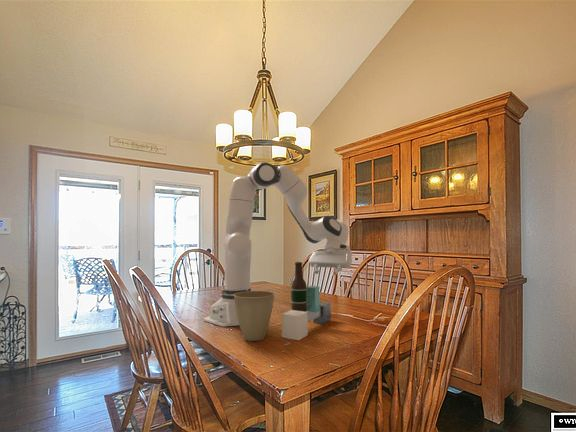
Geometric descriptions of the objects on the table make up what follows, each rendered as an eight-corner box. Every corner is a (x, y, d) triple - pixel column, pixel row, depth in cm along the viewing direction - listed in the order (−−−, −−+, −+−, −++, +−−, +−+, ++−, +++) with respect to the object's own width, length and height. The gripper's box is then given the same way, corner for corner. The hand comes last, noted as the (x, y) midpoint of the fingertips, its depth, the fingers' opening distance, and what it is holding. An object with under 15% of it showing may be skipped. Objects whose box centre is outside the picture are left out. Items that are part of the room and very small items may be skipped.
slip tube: (296, 322, 124) (296, 290, 124) (321, 310, 142) (320, 282, 143) (306, 324, 121) (305, 290, 122) (329, 312, 140) (329, 283, 141)
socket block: (281, 337, 117) (281, 313, 117) (291, 332, 123) (291, 309, 123) (298, 340, 113) (298, 316, 114) (307, 335, 119) (307, 312, 120)
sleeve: (313, 322, 136) (313, 304, 137) (320, 318, 142) (320, 301, 143) (324, 324, 134) (323, 305, 134) (330, 320, 140) (330, 302, 140)
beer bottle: (307, 309, 161) (306, 261, 162) (306, 313, 153) (306, 262, 154) (292, 309, 161) (291, 261, 163) (290, 312, 154) (290, 262, 155)
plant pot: (281, 340, 113) (280, 295, 114) (241, 347, 107) (241, 299, 108) (265, 329, 127) (265, 289, 128) (228, 335, 120) (228, 292, 121)
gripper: (311, 245, 155) (302, 267, 147) (352, 246, 145) (344, 269, 136) (316, 254, 159) (307, 276, 150) (355, 255, 148) (348, 279, 139)
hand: (325, 273), depth 143 cm, fingers open, 8 cm apart
